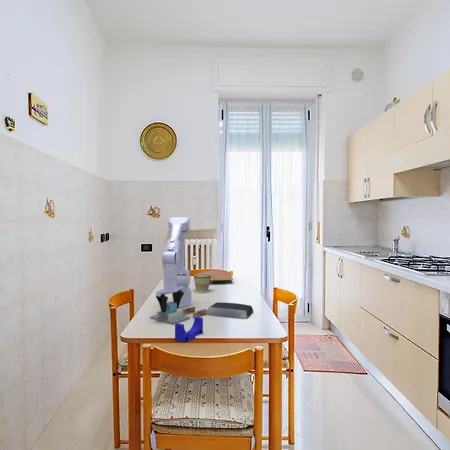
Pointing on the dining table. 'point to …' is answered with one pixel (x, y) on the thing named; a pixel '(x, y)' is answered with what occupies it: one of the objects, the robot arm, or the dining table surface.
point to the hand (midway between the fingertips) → (170, 310)
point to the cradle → (192, 310)
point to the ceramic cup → (202, 282)
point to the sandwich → (219, 275)
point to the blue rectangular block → (170, 308)
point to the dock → (170, 317)
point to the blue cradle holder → (194, 331)
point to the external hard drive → (230, 310)
